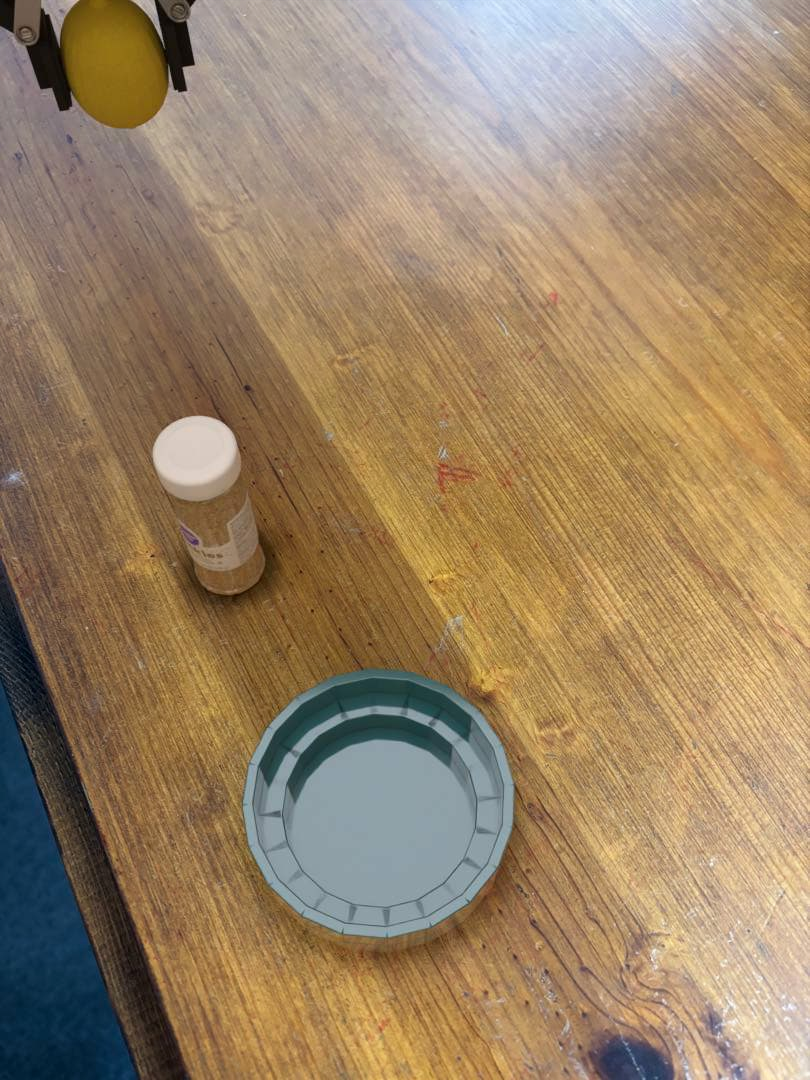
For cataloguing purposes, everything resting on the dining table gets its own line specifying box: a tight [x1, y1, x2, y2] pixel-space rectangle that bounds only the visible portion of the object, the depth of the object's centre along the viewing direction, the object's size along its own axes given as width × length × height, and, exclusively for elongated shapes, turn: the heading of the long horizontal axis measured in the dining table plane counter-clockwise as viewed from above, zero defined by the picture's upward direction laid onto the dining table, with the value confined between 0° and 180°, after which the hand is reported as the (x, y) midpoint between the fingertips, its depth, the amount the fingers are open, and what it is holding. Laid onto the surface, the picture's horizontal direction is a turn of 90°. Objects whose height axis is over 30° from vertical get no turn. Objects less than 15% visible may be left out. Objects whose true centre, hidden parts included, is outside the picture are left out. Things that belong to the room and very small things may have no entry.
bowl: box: [241, 667, 516, 953], centre depth 58 cm, size 14×14×5 cm
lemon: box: [59, 0, 170, 130], centre depth 57 cm, size 6×6×8 cm
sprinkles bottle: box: [152, 415, 266, 596], centre depth 62 cm, size 5×5×13 cm
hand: (120, 82), depth 58 cm, fingers closed on lemon, 5 cm apart
